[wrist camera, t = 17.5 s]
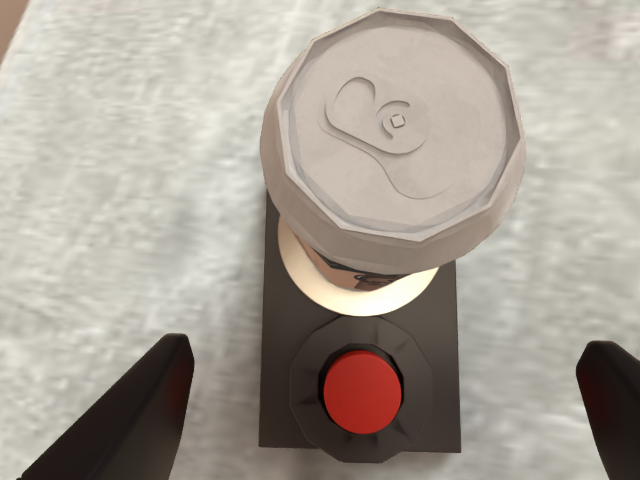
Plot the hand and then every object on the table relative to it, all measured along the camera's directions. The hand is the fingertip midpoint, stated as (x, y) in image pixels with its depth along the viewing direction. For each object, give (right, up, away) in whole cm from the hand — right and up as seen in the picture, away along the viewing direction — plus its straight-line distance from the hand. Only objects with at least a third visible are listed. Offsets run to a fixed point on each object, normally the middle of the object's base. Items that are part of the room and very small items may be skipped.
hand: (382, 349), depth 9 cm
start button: (0, -4, +9) cm, 10 cm away
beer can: (0, +2, +10) cm, 10 cm away
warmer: (+1, -1, +12) cm, 13 cm away
